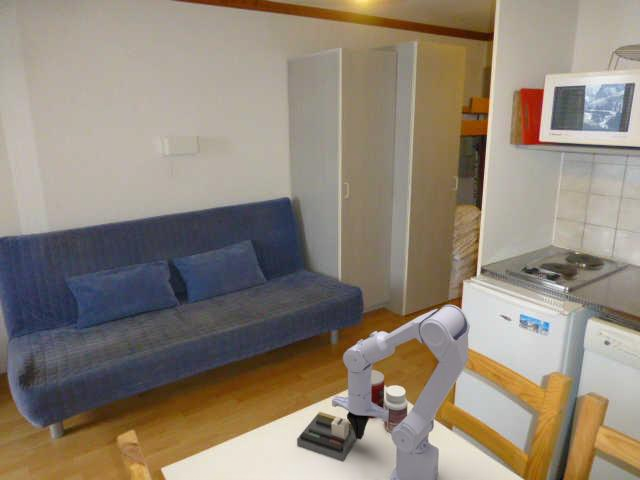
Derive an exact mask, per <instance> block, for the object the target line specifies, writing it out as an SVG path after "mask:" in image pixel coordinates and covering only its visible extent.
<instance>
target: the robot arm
mask: <svg viewBox="0 0 640 480" xmlns="http://www.w3.org/2000/svg"><path fill="white" fill-rule="evenodd" d="M470 329H471V325H470V322H469V320H468V318H467V316H466V314H465V312H464V311H463V310H462V309H461V308H460V307H459V306H456V305H455V304H454V305H453V304H445V305H444V306H441V308H440V309H438V308H436V309H433V310H430V311H429V312H426V313H424V314H421V315H419V316H417V317H415V318H414V319H412V320H410V321H409V322H406V323H405V324H403V325H401V326H399V327H398V328H396V329H394V330H393V331H391V332H389V333H388V332H386V331H383V330H382V331H379V332H378V331H377V330H376V331H373V332H371V333H370V334H369V337H368V338H366V339H362V338H361V339H360V340H358V341H357V342H356V344H355V345H352V346H351V347H350V348H348V349H346V351H345V352H344V353H343V356H342V361H343V364H344V365H345V367H346V368H347V393H348V395H347V396H338V395H334V397H333V398H332V399H331V406H332V407H334V408H336V407H340V408H342V409H344V410H345V411H348V412H347V414H346V418H347V419H346V420H349V422H350V423H351V425H352V427H353V429H354V432H355V436H356V438H357V440H362V439H363V437H364V435H365V430H366V427H367V424H368V421H369V420H370V416H374V417H373V418H377V419H381V420H382V421H381V422H384V421H385V422H386V421H387V419H388V418H389V411H388V410H385V409H383V408H381V407H379V406H378V405H376V404H374V403H372V402H371V373H372V370H373V364H376V363H377V362H380V361H381V360H384V359H385V358H388V357H390V356H392V355H393V354H394V353H395V351H396V347H397V346H400V345H402V344H404V343H406V342H409V341H412V340H414V339H416V340H417V341H418V342H419V343H420V344H423V343H424V344H425V345H426V347H427V348H428V349H429V350H430V352H431V353H432V354H433V356H434V357H435V358H436V360H437V361H439V362H438V364H437V365H436V367H435V369H434V371H433V372H432V374H431V375H430V378H428V381H427V382H426V384H425V385H424V388H423V389H422V391H421V393H420V394H419V396H418V398H417V400H416V401H415V403H414V405H413V406H412V408H411V410H410V411H409V412H408V413H407V416H406V417H405V418H404V419H403V420H402V421H401V422H400V423H399V425H398V426H396V427H394V428H393V430H392V433H391V432H390V433H391V435H390V436H391V440H392V442H393V445H395V447H396V463H395V465H396V466H395V467H394V470H393V471H392V473H391V476H390V478H389V479H390V480H436V479H437V477H438V473H439V458H440V457H439V456H440V450H439V448H438V447H436V446H434V445H433V444H431V443H430V442H429V435H430V433H431V432H432V431H433V430H434V427H435V418H437V412H438V411H439V410H440V408H441V406H442V405H443V403H444V401H445V399H446V398H447V397H448V395H449V393H450V392H451V391H452V388H453V387H454V385H455V383H456V382H457V380H458V379H459V377H460V376H461V374H462V372H463V371H464V370H465V368H466V366H467V364H468V363H469V361H470V360H469V359H470V356H469V354H470V353H469V331H470Z"/></svg>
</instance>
